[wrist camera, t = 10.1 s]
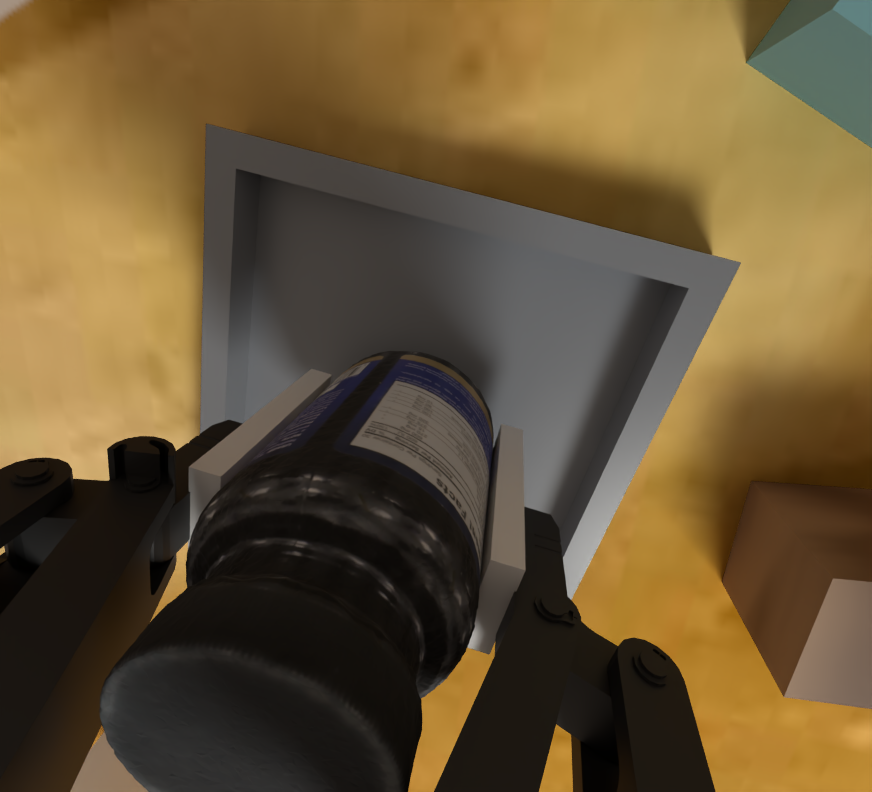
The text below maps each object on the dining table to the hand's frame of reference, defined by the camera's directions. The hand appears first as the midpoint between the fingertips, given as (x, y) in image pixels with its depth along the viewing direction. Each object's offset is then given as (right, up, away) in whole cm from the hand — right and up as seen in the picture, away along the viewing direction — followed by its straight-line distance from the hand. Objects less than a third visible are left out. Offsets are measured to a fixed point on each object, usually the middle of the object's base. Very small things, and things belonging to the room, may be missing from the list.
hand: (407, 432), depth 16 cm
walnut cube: (+15, -4, +2) cm, 16 cm away
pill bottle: (0, 0, +1) cm, 1 cm away
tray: (0, +1, +2) cm, 2 cm away
